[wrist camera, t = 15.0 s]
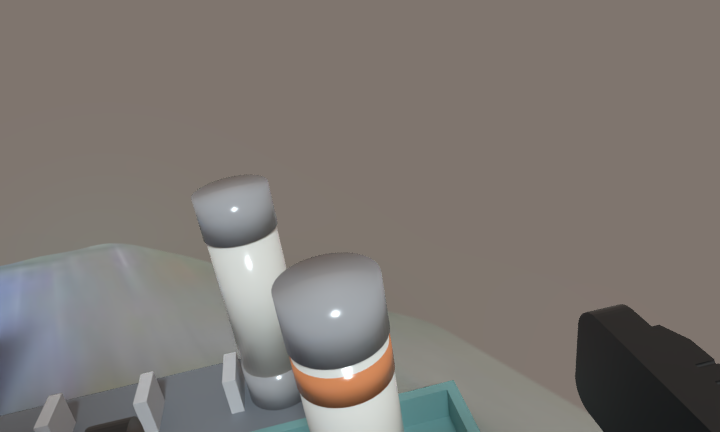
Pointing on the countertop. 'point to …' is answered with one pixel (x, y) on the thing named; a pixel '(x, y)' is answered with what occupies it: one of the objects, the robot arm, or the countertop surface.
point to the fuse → (249, 280)
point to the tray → (417, 412)
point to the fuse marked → (339, 343)
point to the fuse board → (161, 405)
